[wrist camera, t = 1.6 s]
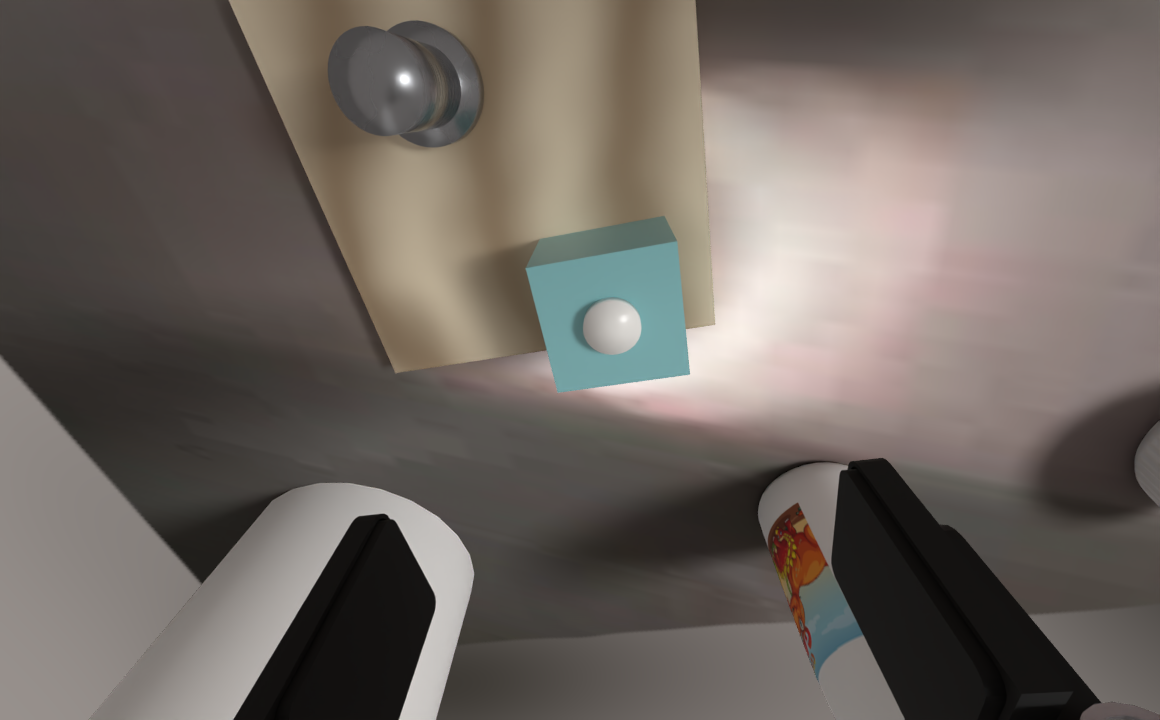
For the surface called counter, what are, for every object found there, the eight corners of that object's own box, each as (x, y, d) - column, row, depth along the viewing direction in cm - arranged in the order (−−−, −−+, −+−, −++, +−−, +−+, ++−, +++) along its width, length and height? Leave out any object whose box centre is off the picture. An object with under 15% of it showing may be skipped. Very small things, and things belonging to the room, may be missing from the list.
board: (681, -137, 17) (686, -154, 16) (710, 315, 25) (715, 324, 24) (241, -11, 19) (220, -17, 18) (403, 362, 28) (395, 372, 27)
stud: (465, 11, 18) (414, -21, 13) (496, 134, 20) (462, 144, 15) (362, 38, 19) (278, 16, 14) (403, 154, 21) (342, 170, 16)
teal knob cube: (664, 215, 22) (679, 244, 17) (676, 330, 24) (691, 380, 20) (539, 238, 22) (523, 272, 18) (565, 347, 25) (556, 398, 21)
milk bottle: (815, 439, 29) (1134, 954, 11) (900, 491, 31) (1289, 1008, 13) (731, 510, 32) (878, 993, 15) (812, 554, 34) (1029, 1032, 16)
